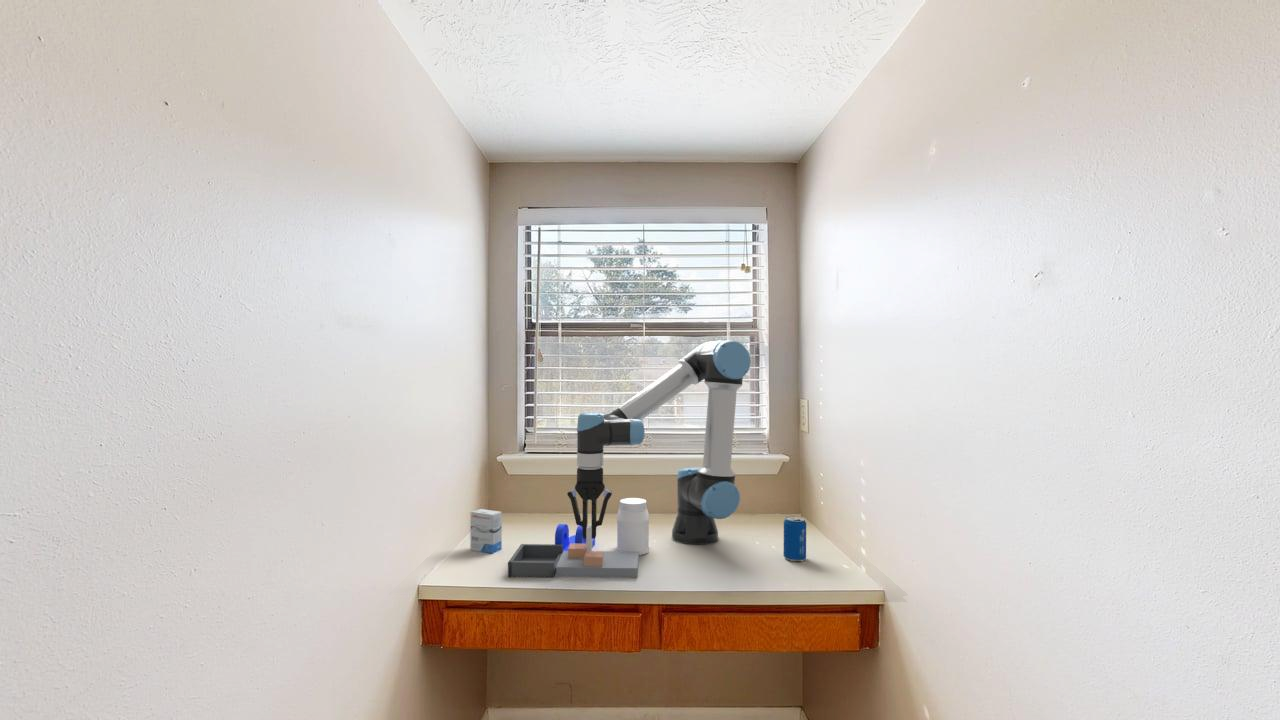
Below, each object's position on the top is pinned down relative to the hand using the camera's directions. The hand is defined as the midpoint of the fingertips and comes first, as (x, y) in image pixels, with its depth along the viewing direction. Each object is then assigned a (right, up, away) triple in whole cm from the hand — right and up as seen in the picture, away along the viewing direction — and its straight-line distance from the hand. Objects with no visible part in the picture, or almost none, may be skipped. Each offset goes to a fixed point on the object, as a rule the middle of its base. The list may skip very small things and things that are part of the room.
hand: (589, 549), depth 174 cm
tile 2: (+2, -2, -7) cm, 7 cm away
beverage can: (+60, -5, +5) cm, 61 cm away
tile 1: (-3, -2, 0) cm, 4 cm away
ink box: (-33, -4, +12) cm, 35 cm away
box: (-15, -4, -3) cm, 15 cm away
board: (+3, -4, -3) cm, 6 cm away
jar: (+12, -4, +13) cm, 19 cm away
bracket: (-5, -5, +14) cm, 15 cm away
